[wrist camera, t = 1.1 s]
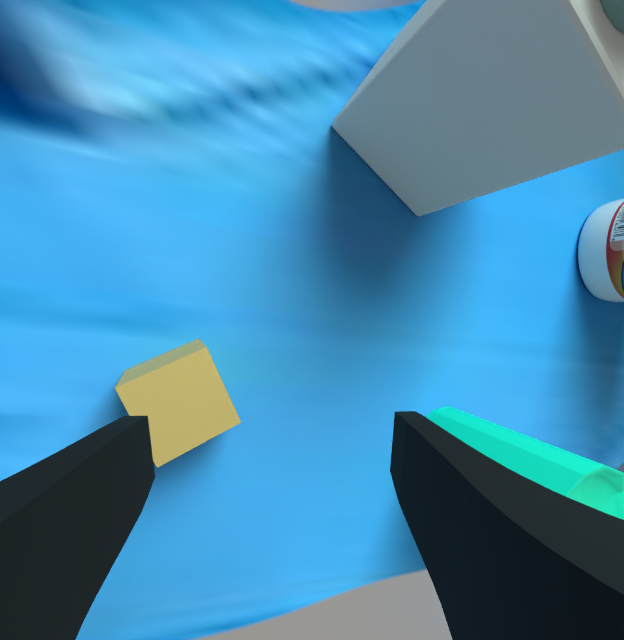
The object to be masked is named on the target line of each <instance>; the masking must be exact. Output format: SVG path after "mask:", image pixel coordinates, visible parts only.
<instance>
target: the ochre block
mask: <svg viewBox="0 0 624 640" xmlns="http://www.w3.org/2000/svg"><path fill="white" fill-rule="evenodd" d="M115 389H116V391H117V393H118V395H119V397H120V399H121V401H122V402H123V404H124V406H125V408H126V410H127V412H128V414H129V416H148V421H149V430H150V438H151V447H152V456H153V461H154V463H155V465H156V467H157V468H158V467H160V466H161V465H163V464H165V463H167V462H169V461H171V460H173V459H174V458H176V457H178V456H180V455H182V454H184V453H185V452H187V451H189V450H191V449H193V448H195V447H197V446H198V445H200V444H202V443H204V442H206V441H208V440H209V439H211V438H213V437H215V436H217V435H219V434H221V433H222V432H224V431H226V430H228V429H230V428H232V427H233V426H235V425H237V424H239V423H241V421H240V419H239V417H238V414H237V412H236V410H235V408H234V406H233V404H232V401H231V399H230V397H229V395H228V393H227V390H226V388H225V386H224V384H223V382H222V379H221V377H220V375H219V373H218V371H217V369H216V366H215V364H214V362H213V360H212V358H211V355H210V353H209V351H208V349H207V347H206V346H205V345H204V343H203V342H202V341H201V340H200V339H196V340H194V341H192V342H189V343H187V344H185V345H182V346H180V347H178V348H175V349H173V350H171V351H169V352H166V353H164V354H162V355H159V356H157V357H155V358H152V359H150V360H148V361H145V362H143V363H141V364H139V365H136V366H134V367H132V368H129V369H127V370H125V371H124V373H123V375H122V377H121V378H120V380H119V382H118V383H117V385H116V387H115Z"/></svg>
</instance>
